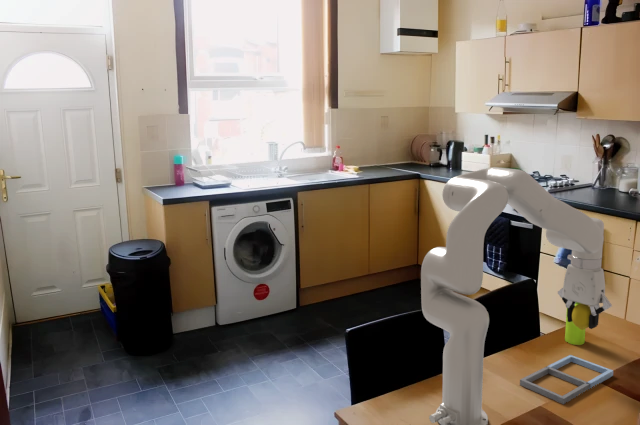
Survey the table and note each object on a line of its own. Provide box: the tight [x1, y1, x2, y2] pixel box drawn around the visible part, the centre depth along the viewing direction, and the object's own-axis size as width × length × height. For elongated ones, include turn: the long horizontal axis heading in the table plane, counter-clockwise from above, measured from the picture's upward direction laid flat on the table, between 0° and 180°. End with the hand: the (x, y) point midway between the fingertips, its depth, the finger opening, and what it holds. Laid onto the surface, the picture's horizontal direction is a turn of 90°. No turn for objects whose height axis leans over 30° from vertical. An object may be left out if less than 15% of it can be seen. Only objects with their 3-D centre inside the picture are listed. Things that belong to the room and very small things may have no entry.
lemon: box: [572, 304, 592, 330], centre depth 156 cm, size 6×6×8 cm
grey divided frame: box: [519, 354, 614, 405], centre depth 156 cm, size 25×13×2 cm, turn 126°
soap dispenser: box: [564, 302, 587, 346], centre depth 179 cm, size 6×7×20 cm
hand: (582, 323), depth 157 cm, fingers closed on lemon, 5 cm apart
